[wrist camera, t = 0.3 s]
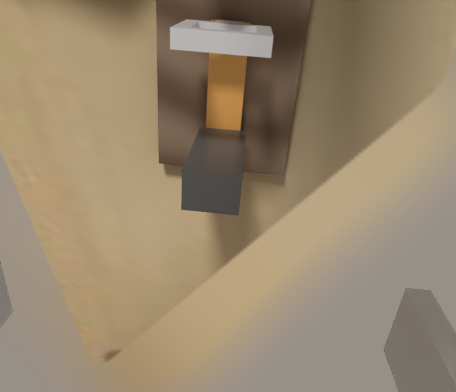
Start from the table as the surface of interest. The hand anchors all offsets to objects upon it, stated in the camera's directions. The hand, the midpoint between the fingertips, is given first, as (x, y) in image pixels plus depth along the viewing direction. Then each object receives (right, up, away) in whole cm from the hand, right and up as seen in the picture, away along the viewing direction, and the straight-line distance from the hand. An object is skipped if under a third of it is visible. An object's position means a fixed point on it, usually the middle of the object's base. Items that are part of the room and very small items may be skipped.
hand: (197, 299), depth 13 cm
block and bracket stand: (+1, +11, +21) cm, 24 cm away
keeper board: (+1, +18, +19) cm, 26 cm away
